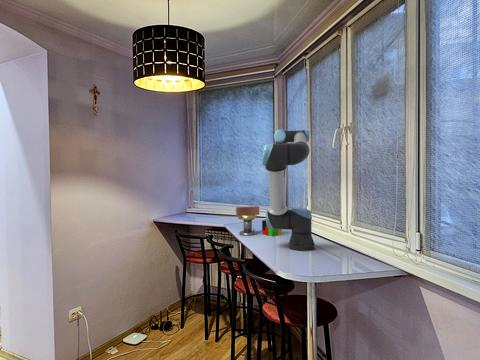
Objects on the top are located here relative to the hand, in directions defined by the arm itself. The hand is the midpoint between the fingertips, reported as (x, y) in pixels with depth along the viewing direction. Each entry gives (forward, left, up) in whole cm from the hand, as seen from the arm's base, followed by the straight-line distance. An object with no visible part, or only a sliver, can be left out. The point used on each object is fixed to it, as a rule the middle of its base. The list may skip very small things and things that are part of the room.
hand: (281, 187), depth 212 cm
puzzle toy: (+12, +3, -35) cm, 37 cm away
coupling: (+16, +20, -23) cm, 34 cm away
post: (+16, +20, -34) cm, 43 cm away
